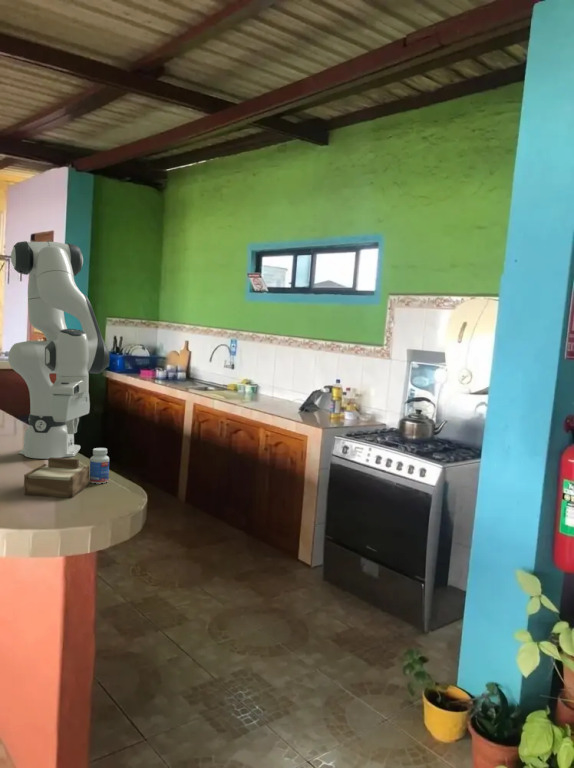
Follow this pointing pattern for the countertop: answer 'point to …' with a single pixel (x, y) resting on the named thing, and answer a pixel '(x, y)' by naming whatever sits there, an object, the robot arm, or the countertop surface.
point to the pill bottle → (99, 466)
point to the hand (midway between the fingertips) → (72, 433)
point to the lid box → (56, 485)
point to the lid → (58, 469)
